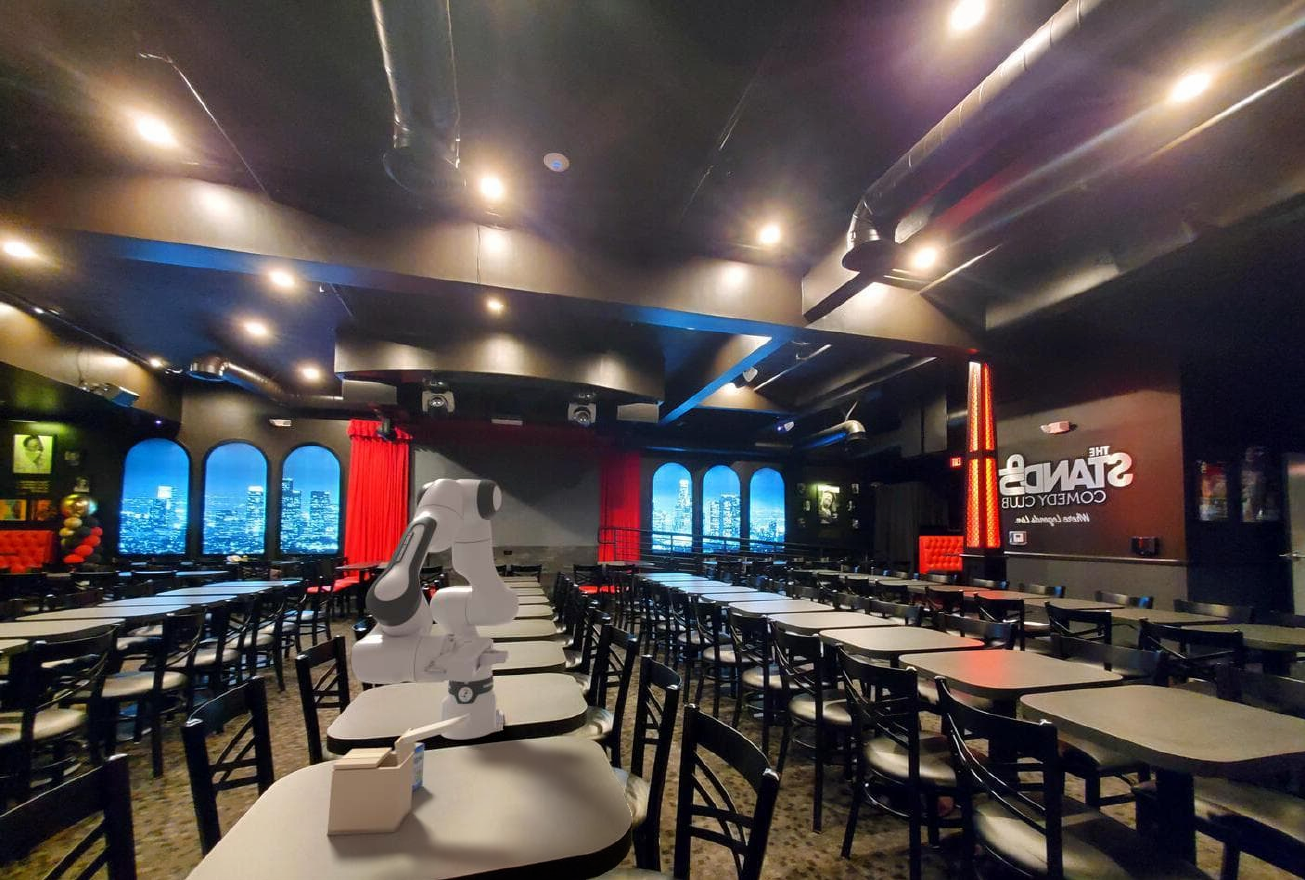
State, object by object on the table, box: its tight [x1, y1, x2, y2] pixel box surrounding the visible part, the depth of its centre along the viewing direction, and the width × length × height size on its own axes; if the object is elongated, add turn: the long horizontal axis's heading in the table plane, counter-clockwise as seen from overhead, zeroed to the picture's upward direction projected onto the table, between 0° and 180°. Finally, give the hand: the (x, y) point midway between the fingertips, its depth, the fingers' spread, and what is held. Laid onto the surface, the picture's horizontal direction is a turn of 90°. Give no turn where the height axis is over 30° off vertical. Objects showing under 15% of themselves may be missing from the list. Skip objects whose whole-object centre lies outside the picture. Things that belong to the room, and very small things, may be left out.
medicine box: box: [391, 741, 425, 793], centre depth 117 cm, size 8×4×9 cm, turn 168°
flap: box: [394, 714, 471, 765], centre depth 108 cm, size 8×4×13 cm
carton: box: [326, 747, 414, 836], centre depth 105 cm, size 8×12×12 cm, turn 95°
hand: (507, 656), depth 111 cm, fingers closed
